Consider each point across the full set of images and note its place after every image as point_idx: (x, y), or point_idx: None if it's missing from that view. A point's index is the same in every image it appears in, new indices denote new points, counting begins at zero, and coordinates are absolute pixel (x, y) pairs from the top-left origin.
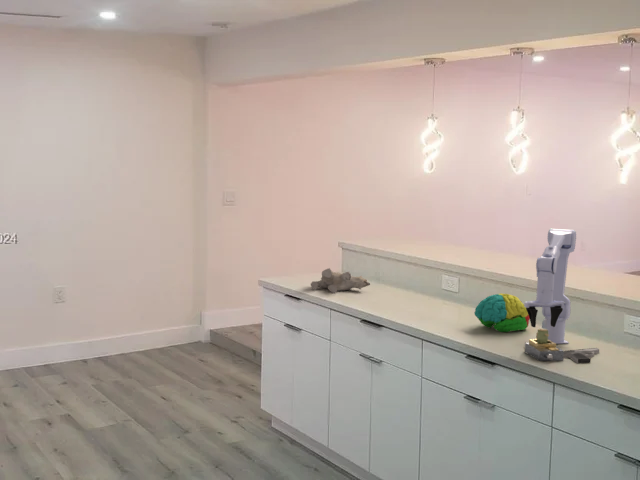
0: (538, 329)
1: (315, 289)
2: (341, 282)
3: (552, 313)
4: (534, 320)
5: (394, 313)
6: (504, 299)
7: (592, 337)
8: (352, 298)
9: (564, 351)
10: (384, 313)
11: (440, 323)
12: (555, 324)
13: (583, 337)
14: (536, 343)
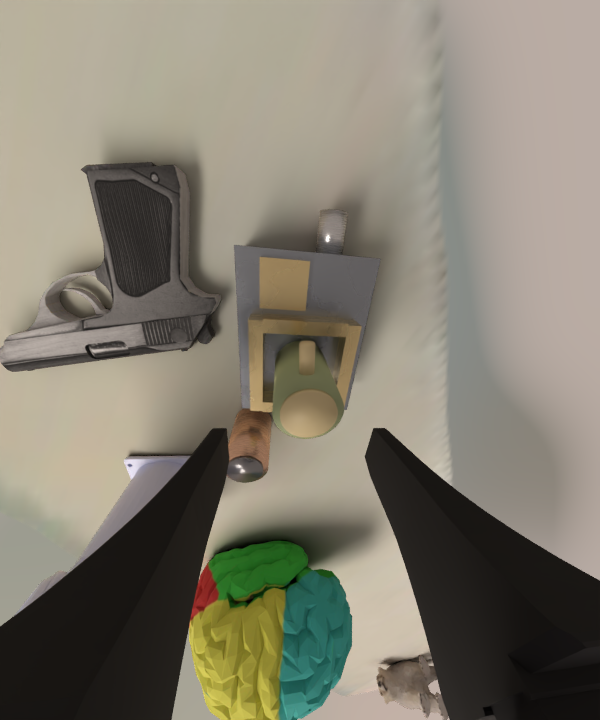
0: (324, 432)
1: None
2: (412, 682)
3: (187, 585)
4: (422, 470)
5: (415, 608)
6: (277, 695)
7: (15, 506)
8: (415, 645)
9: (196, 331)
10: None
11: (380, 577)
12: (204, 440)
13: (50, 506)
14: (357, 341)
